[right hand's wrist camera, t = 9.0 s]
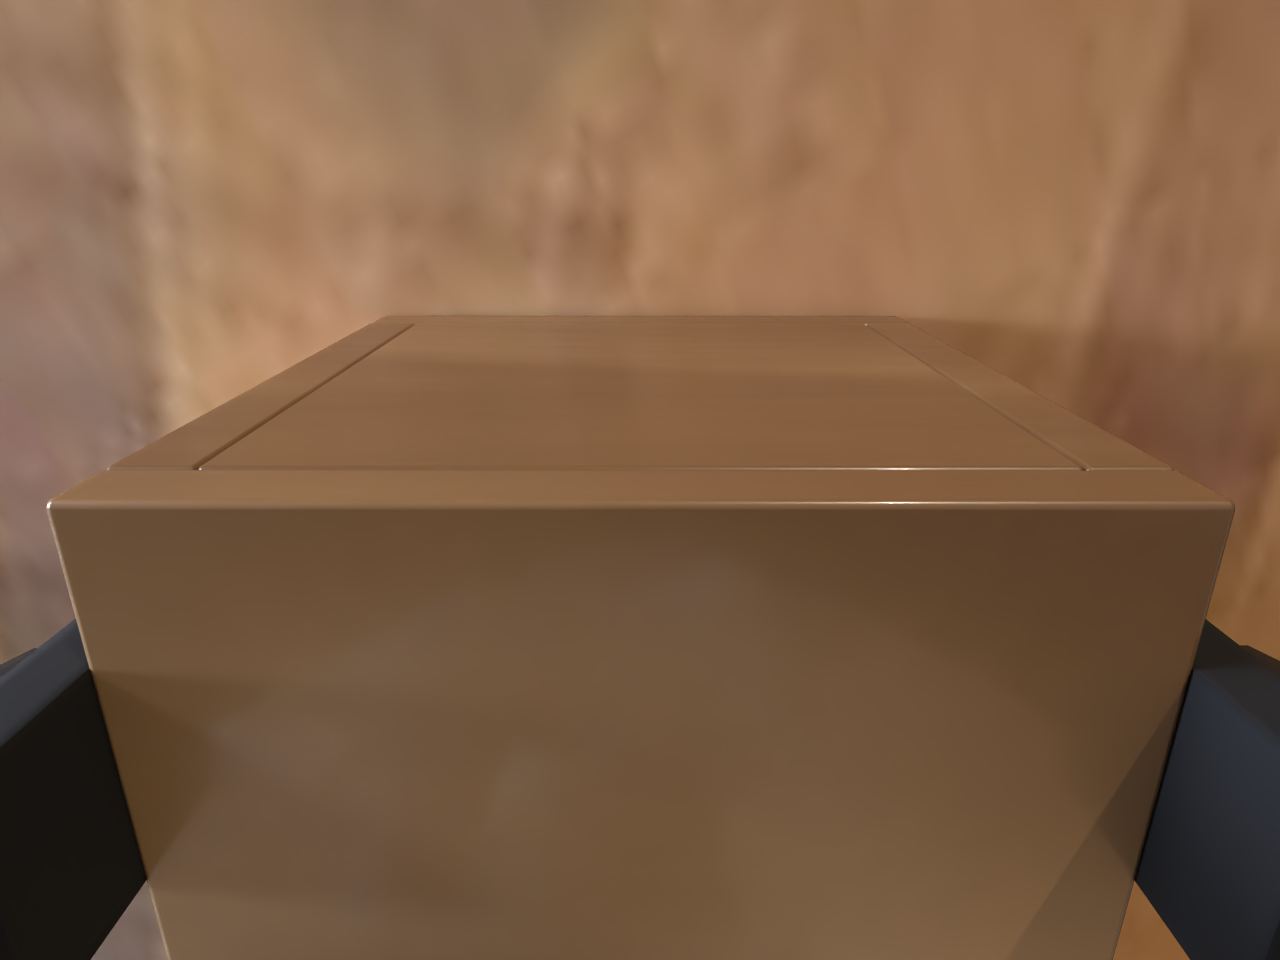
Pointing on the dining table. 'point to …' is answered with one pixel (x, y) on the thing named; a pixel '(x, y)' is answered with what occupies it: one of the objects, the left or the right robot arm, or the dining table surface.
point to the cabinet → (640, 648)
